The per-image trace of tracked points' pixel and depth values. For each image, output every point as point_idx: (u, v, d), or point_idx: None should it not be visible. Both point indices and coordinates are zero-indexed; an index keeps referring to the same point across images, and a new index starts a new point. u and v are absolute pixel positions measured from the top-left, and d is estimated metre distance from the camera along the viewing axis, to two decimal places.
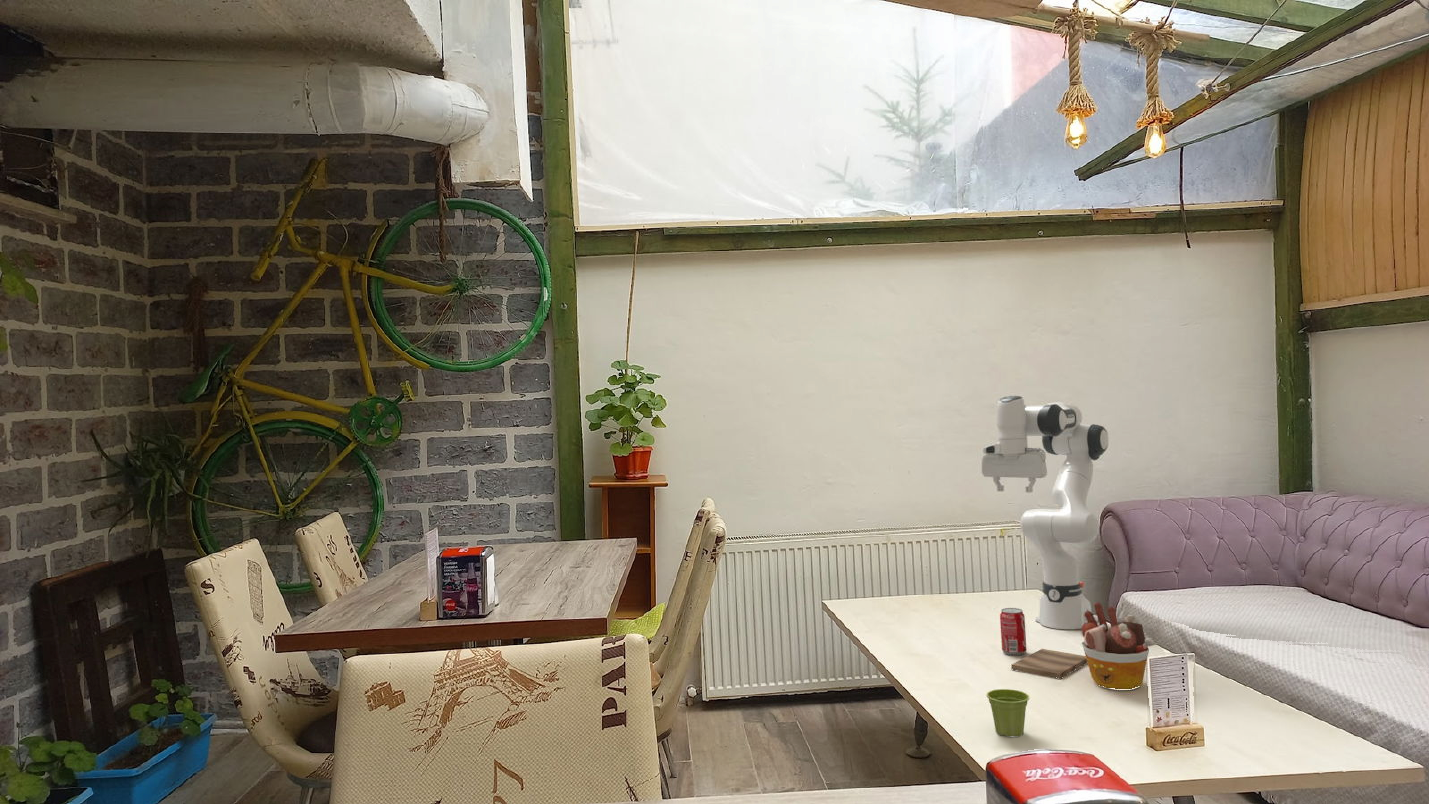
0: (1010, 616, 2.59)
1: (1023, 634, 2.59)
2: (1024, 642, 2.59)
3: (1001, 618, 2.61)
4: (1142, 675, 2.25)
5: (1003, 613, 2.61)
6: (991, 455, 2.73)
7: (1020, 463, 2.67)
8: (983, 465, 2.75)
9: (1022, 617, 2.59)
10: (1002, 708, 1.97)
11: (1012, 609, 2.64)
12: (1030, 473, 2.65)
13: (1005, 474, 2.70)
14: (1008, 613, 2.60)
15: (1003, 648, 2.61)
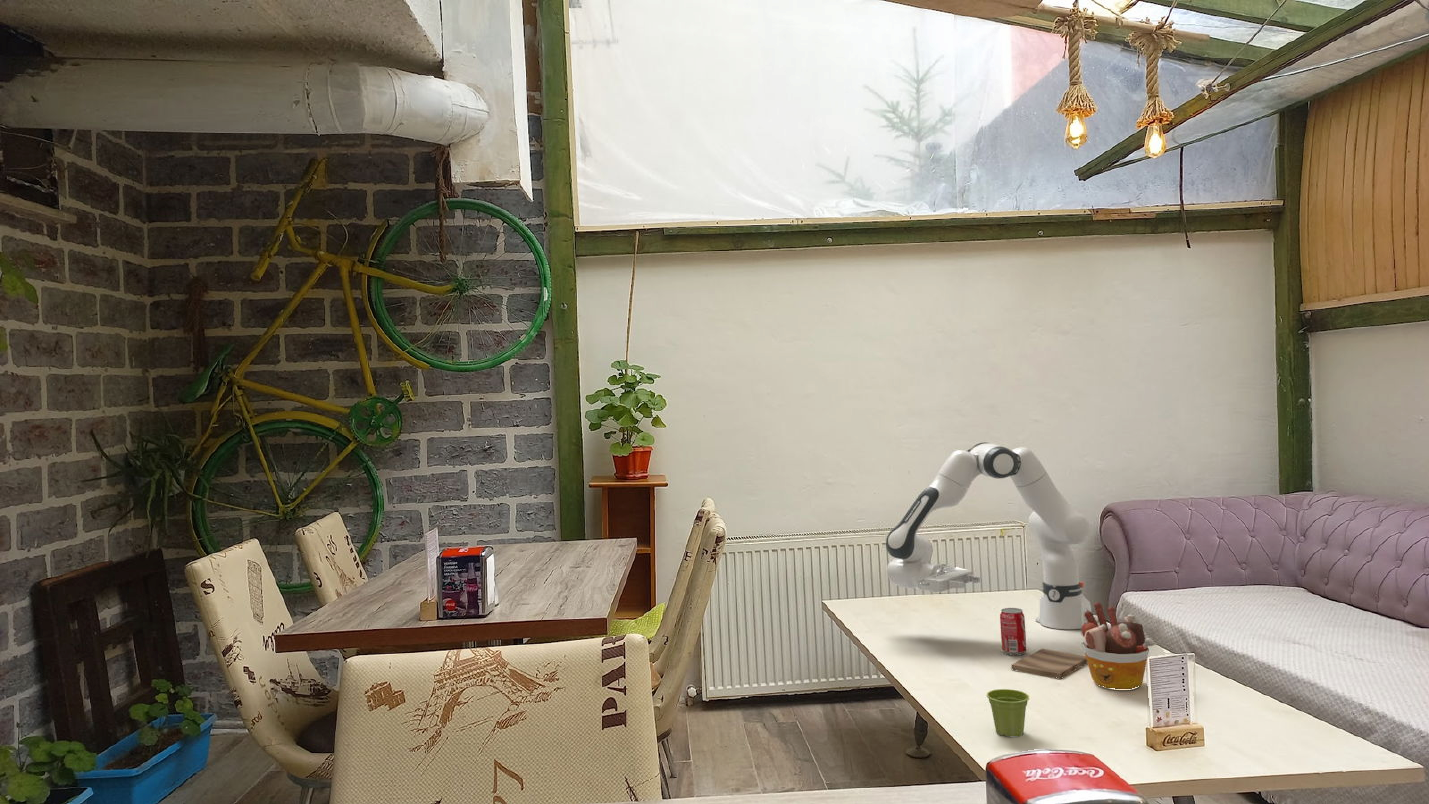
0: (1010, 616, 2.59)
1: (1023, 634, 2.59)
2: (1024, 642, 2.59)
3: (1001, 618, 2.61)
4: (1142, 675, 2.25)
5: (1003, 613, 2.61)
6: None
7: None
8: None
9: (1022, 617, 2.59)
10: (1002, 708, 1.97)
11: (1012, 609, 2.64)
12: None
13: None
14: (1008, 613, 2.60)
15: (1003, 648, 2.61)
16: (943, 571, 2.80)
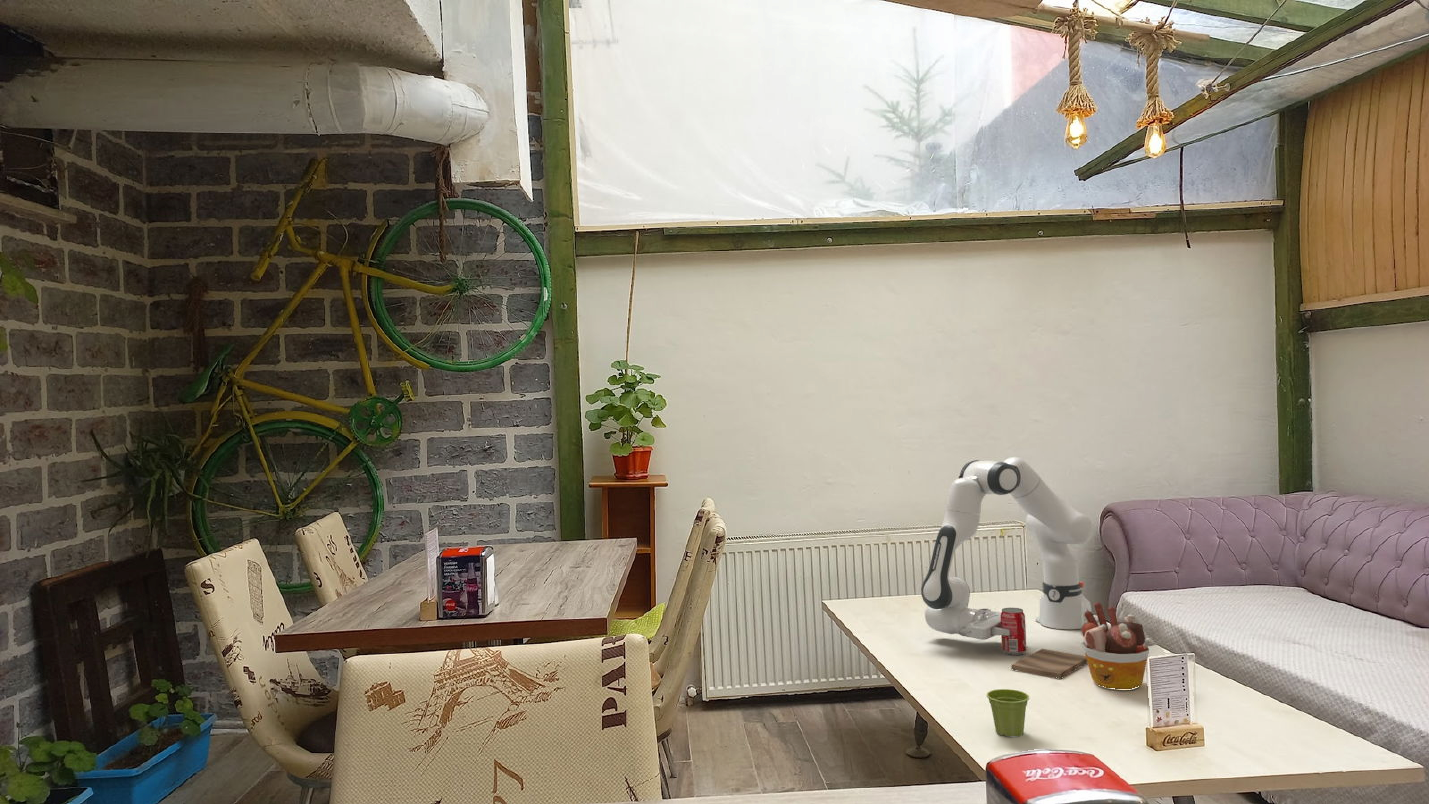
0: (1010, 615, 2.59)
1: (1023, 634, 2.59)
2: (1024, 642, 2.59)
3: (1002, 617, 2.61)
4: (1142, 675, 2.25)
5: (1004, 612, 2.61)
6: None
7: None
8: None
9: (1023, 616, 2.59)
10: (1002, 708, 1.97)
11: (1013, 609, 2.64)
12: None
13: None
14: (1009, 612, 2.60)
15: (1003, 647, 2.61)
16: (985, 617, 2.69)
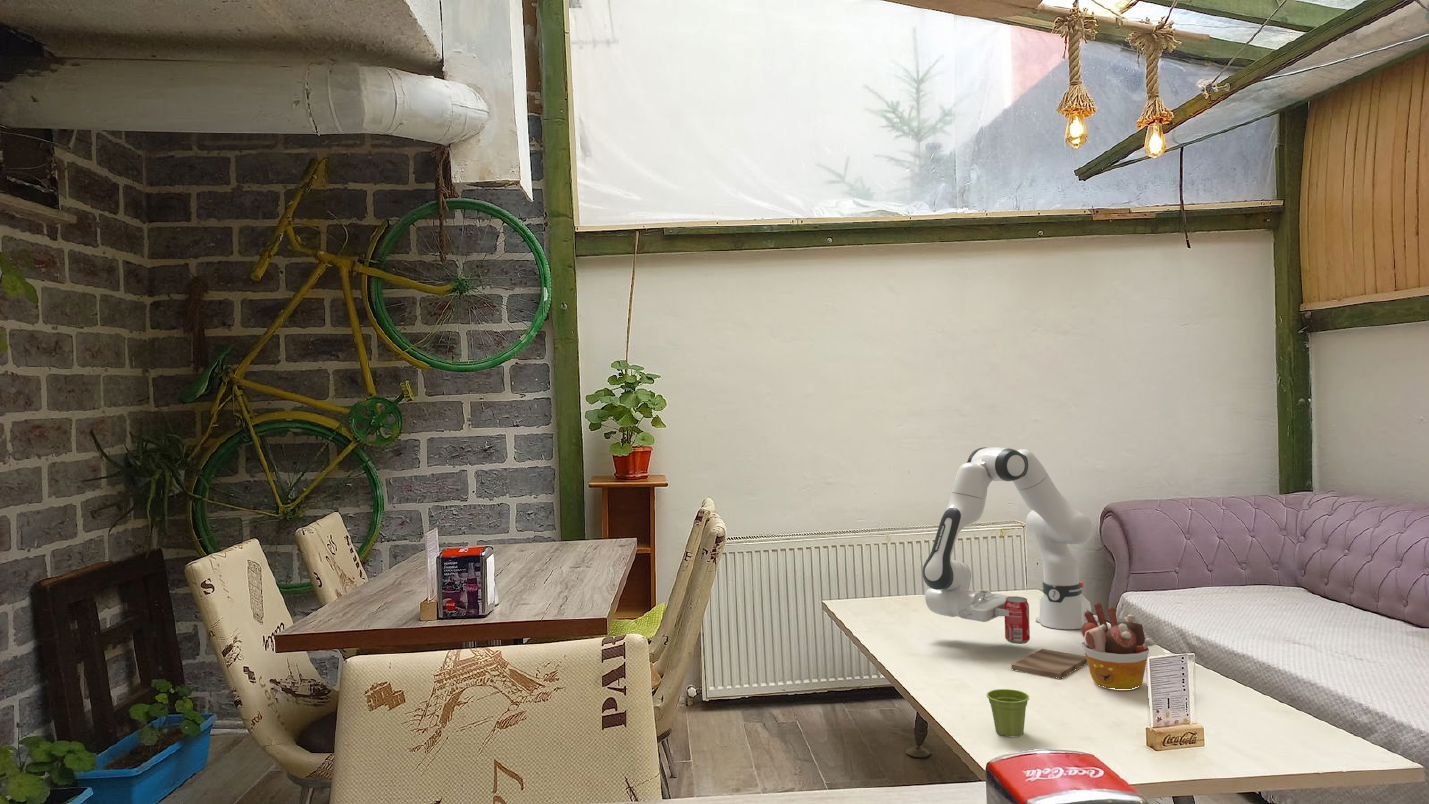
0: (1015, 605, 2.59)
1: (1027, 623, 2.59)
2: (1028, 631, 2.60)
3: (1006, 607, 2.61)
4: (1142, 675, 2.25)
5: (1008, 602, 2.60)
6: None
7: None
8: None
9: (1027, 606, 2.59)
10: (1002, 708, 1.97)
11: (1016, 598, 2.64)
12: None
13: None
14: (1014, 602, 2.59)
15: (1007, 637, 2.61)
16: (985, 599, 2.70)
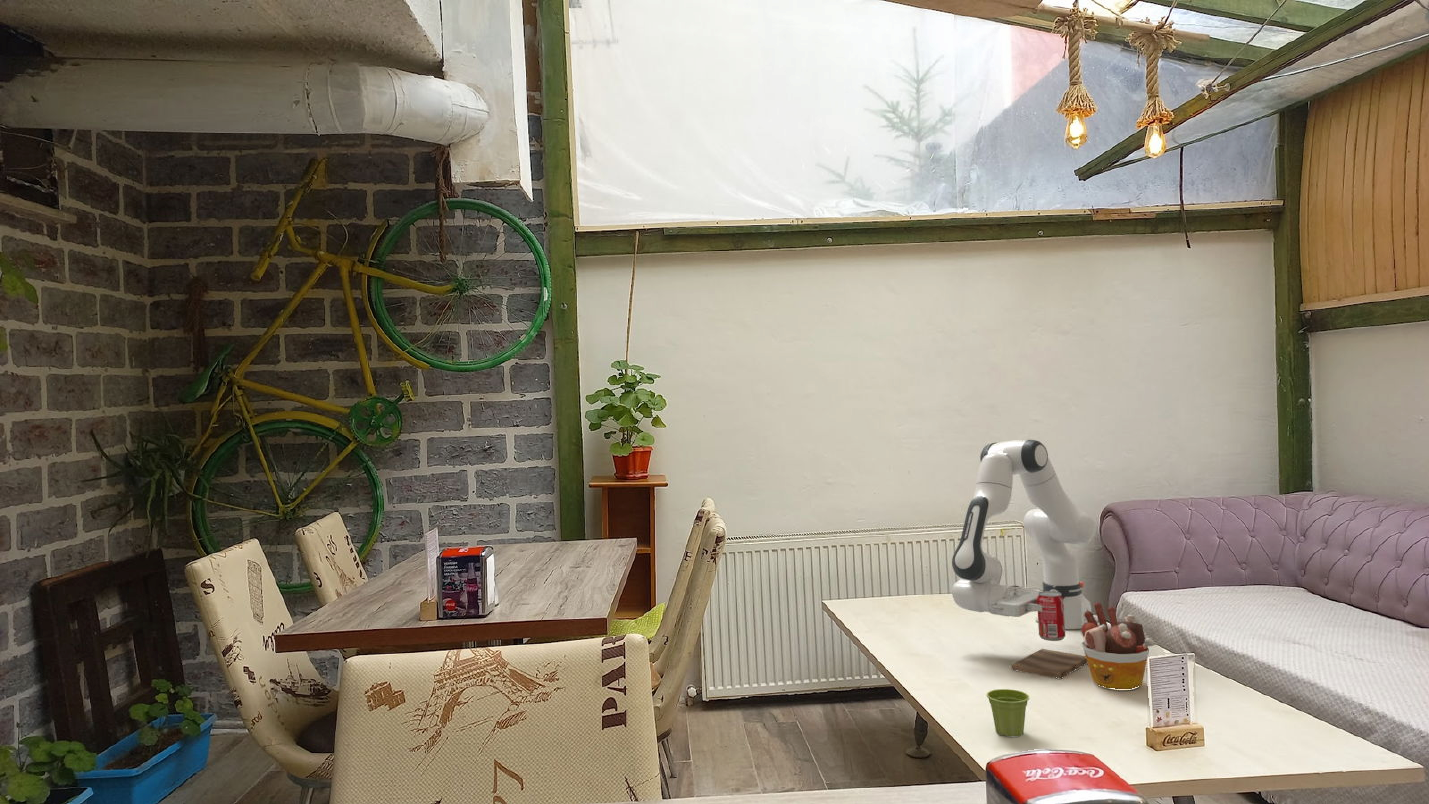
0: (1049, 599, 2.45)
1: (1062, 618, 2.45)
2: (1063, 627, 2.45)
3: (1039, 602, 2.47)
4: (1142, 675, 2.25)
5: (1041, 596, 2.47)
6: None
7: None
8: None
9: (1062, 600, 2.45)
10: (1002, 708, 1.97)
11: (1049, 592, 2.50)
12: None
13: None
14: (1047, 596, 2.45)
15: (1041, 634, 2.47)
16: (1016, 593, 2.56)
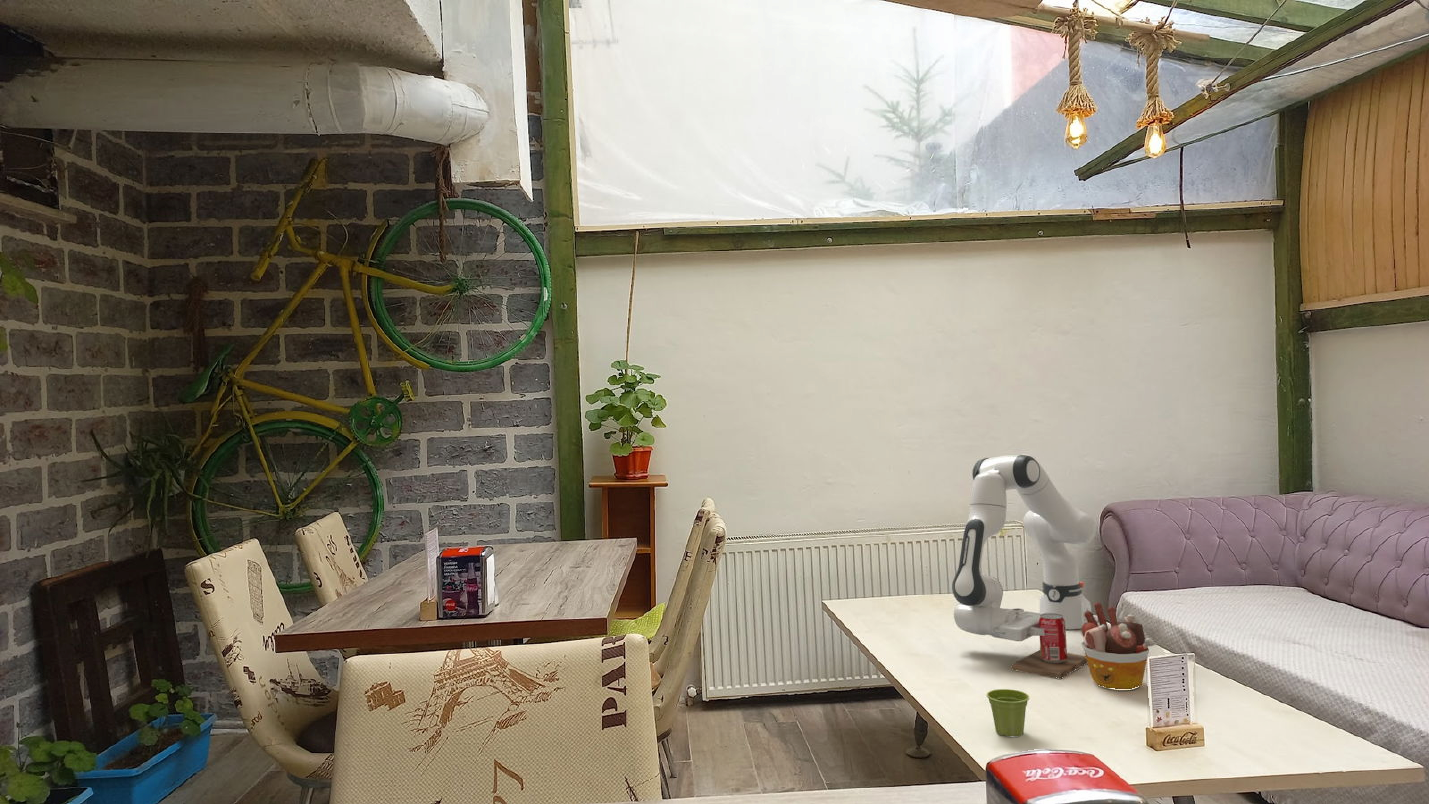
0: (1051, 622, 2.44)
1: (1064, 641, 2.45)
2: (1065, 649, 2.45)
3: (1041, 624, 2.46)
4: (1142, 675, 2.25)
5: (1043, 619, 2.46)
6: None
7: None
8: None
9: (1064, 622, 2.45)
10: (1002, 708, 1.97)
11: (1051, 614, 2.49)
12: None
13: None
14: (1049, 619, 2.45)
15: (1043, 656, 2.46)
16: (1018, 617, 2.55)
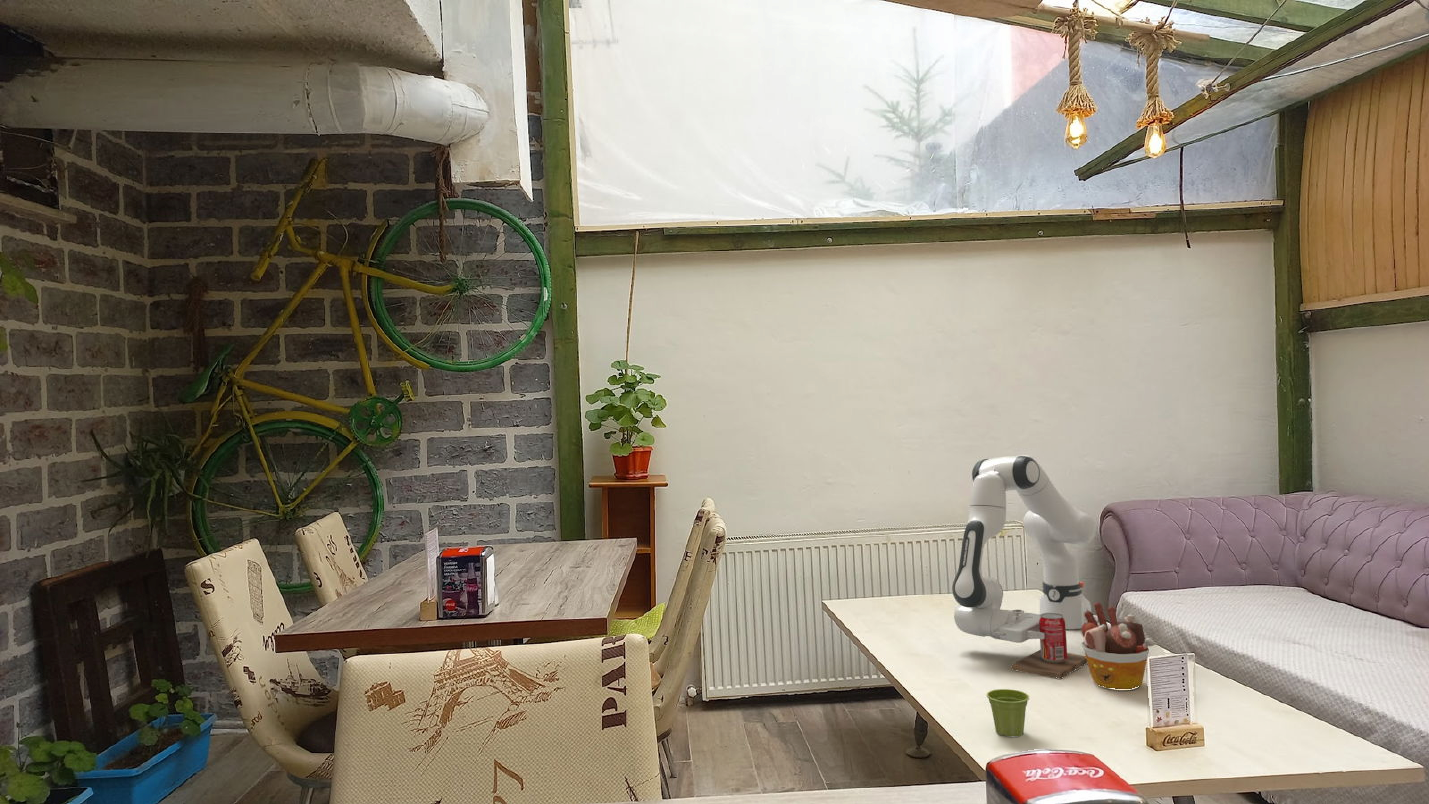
0: (1056, 622, 2.44)
1: None
2: (1066, 648, 2.46)
3: (1045, 625, 2.46)
4: (1142, 675, 2.25)
5: (1047, 619, 2.46)
6: None
7: None
8: None
9: None
10: (1002, 708, 1.97)
11: (1048, 614, 2.50)
12: None
13: None
14: (1054, 619, 2.45)
15: (1047, 657, 2.45)
16: (1018, 618, 2.55)
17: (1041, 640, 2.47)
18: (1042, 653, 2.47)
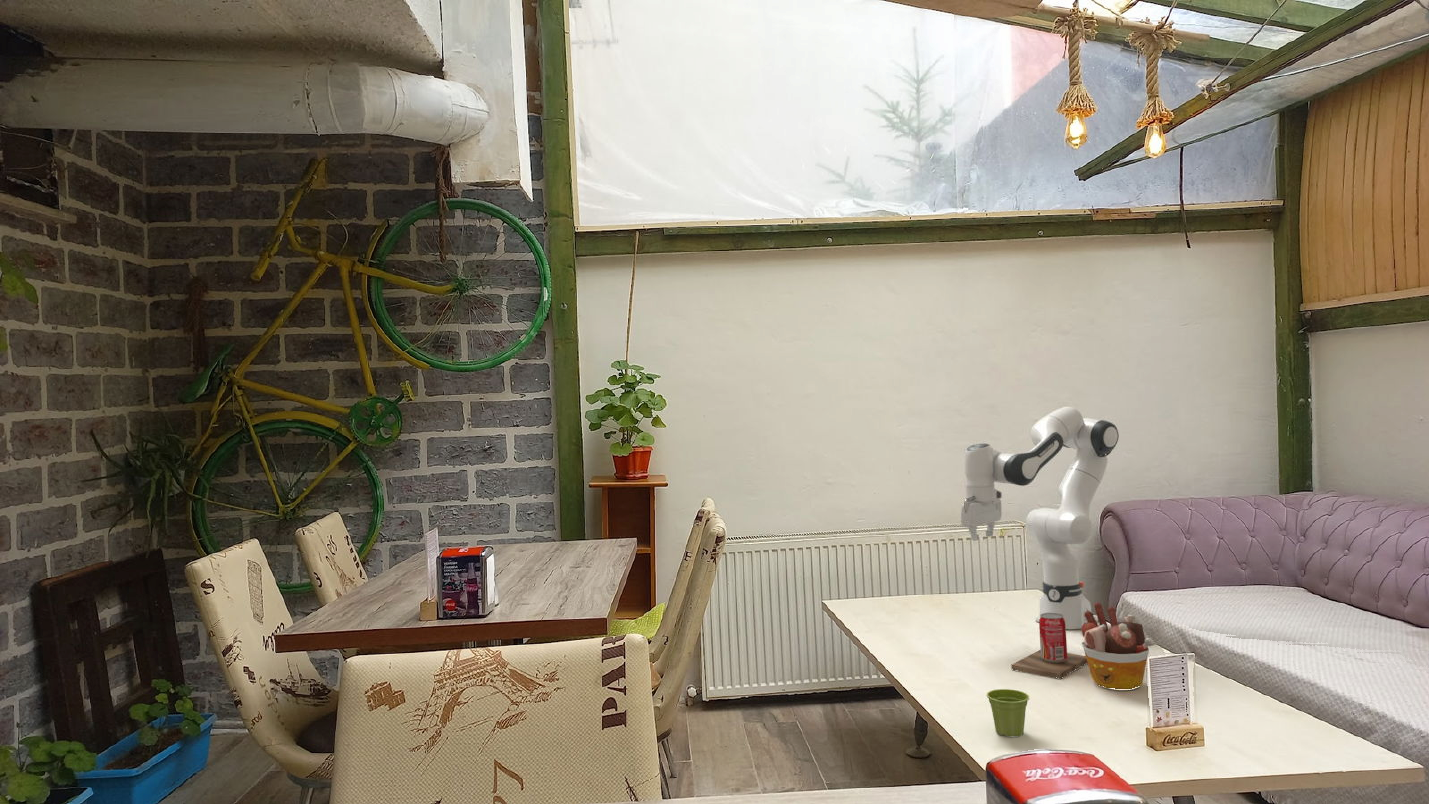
0: (1056, 622, 2.44)
1: None
2: (1066, 648, 2.46)
3: (1045, 625, 2.46)
4: (1142, 675, 2.25)
5: (1047, 619, 2.46)
6: None
7: None
8: None
9: None
10: (1002, 708, 1.97)
11: (1048, 614, 2.50)
12: None
13: None
14: (1054, 619, 2.45)
15: (1047, 657, 2.45)
16: None
17: (1041, 640, 2.47)
18: (1042, 653, 2.47)
